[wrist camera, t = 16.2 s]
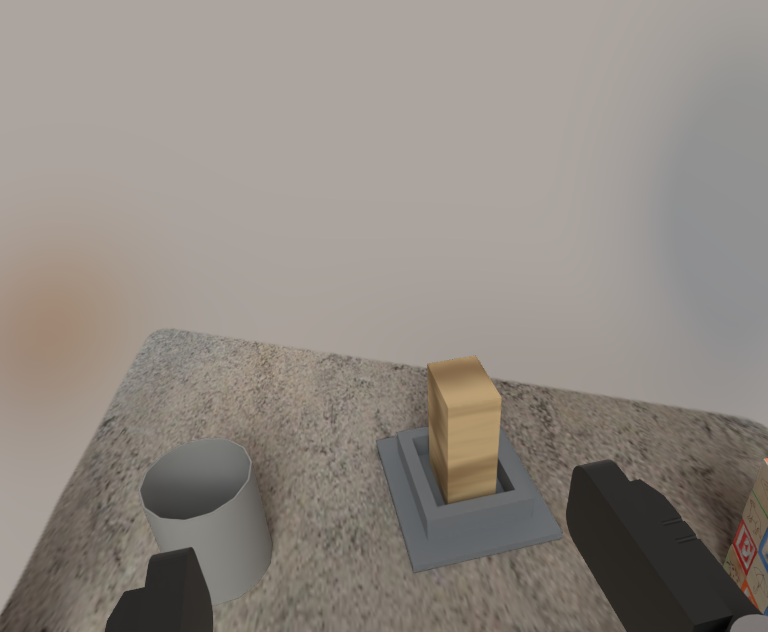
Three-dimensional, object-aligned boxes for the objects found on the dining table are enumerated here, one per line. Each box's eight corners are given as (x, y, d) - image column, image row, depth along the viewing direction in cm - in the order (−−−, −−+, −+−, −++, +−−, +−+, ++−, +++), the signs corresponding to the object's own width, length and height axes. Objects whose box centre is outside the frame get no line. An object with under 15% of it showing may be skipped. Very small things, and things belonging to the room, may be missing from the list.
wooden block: (494, 501, 51) (501, 397, 45) (447, 511, 50) (448, 407, 44) (472, 454, 56) (475, 355, 50) (429, 463, 55) (427, 363, 49)
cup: (266, 599, 45) (243, 515, 40) (161, 611, 45) (124, 527, 39) (275, 513, 52) (256, 432, 47) (185, 523, 52) (156, 442, 47)
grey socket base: (561, 538, 48) (565, 512, 46) (413, 572, 46) (412, 547, 44) (495, 422, 61) (496, 398, 59) (376, 446, 59) (374, 422, 57)
